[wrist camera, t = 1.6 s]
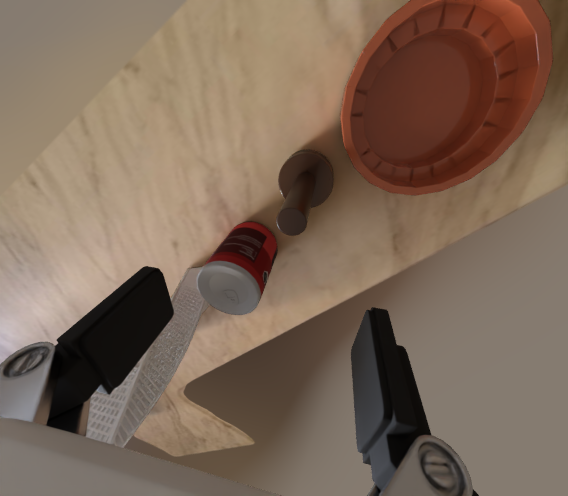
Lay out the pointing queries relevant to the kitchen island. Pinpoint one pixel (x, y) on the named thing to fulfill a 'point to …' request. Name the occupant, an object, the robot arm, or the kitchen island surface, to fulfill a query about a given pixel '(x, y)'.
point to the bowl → (444, 91)
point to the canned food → (239, 269)
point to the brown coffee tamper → (303, 189)
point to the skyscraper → (148, 370)
